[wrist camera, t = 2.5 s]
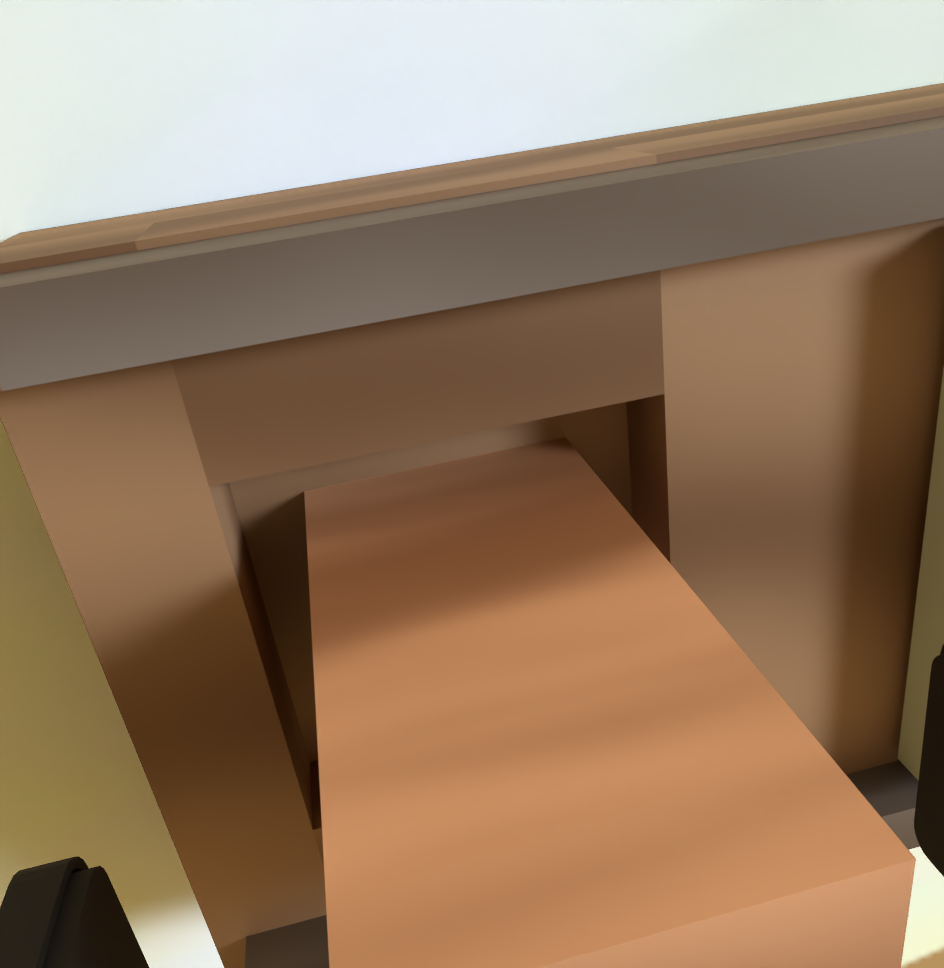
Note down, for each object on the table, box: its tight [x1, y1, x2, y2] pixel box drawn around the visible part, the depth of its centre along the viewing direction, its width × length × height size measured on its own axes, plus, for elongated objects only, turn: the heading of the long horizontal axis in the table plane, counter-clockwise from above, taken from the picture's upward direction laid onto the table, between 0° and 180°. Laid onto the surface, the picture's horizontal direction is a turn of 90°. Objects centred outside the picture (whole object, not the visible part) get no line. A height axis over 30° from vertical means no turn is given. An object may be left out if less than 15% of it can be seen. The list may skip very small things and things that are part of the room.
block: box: [304, 437, 916, 968], centre depth 10 cm, size 4×4×8 cm
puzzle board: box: [0, 83, 944, 968], centre depth 14 cm, size 12×22×4 cm, turn 98°
